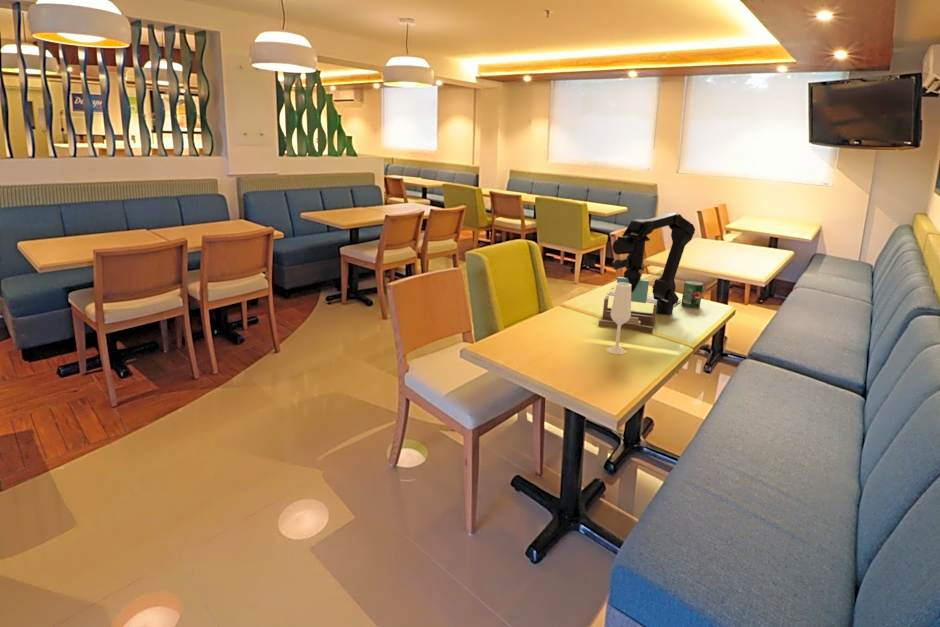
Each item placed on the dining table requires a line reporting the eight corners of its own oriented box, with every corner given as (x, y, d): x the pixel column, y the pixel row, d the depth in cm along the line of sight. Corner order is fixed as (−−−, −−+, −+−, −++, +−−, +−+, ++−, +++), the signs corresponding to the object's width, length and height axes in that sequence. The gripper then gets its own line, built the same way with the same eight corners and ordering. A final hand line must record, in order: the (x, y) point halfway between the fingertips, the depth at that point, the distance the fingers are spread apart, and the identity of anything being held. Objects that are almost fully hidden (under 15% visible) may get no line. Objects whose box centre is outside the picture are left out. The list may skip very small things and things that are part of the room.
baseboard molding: (672, 309, 239) (680, 303, 249) (673, 302, 238) (681, 297, 248) (606, 296, 257) (616, 291, 266) (607, 290, 256) (616, 285, 265)
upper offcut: (616, 318, 213) (616, 315, 213) (637, 320, 211) (638, 317, 211) (616, 322, 208) (616, 319, 208) (638, 324, 207) (638, 321, 206)
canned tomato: (681, 302, 247) (685, 279, 244) (700, 305, 244) (704, 281, 240) (680, 307, 240) (683, 283, 237) (699, 309, 237) (703, 285, 234)
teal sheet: (615, 298, 219) (617, 276, 216) (646, 301, 215) (649, 280, 212) (615, 299, 217) (617, 277, 214) (646, 303, 213) (648, 281, 210)
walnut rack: (604, 315, 226) (607, 294, 223) (654, 321, 219) (657, 300, 217) (598, 328, 210) (600, 305, 207) (651, 335, 203) (654, 312, 201)
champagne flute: (630, 352, 187) (638, 285, 179) (616, 355, 183) (624, 287, 176) (615, 346, 192) (623, 280, 185) (602, 349, 189) (609, 283, 181)
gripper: (618, 246, 221) (614, 283, 226) (612, 254, 204) (608, 294, 209) (646, 249, 217) (641, 286, 222) (642, 257, 201) (637, 298, 205)
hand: (631, 291), depth 215 cm, fingers closed on teal sheet, 2 cm apart
